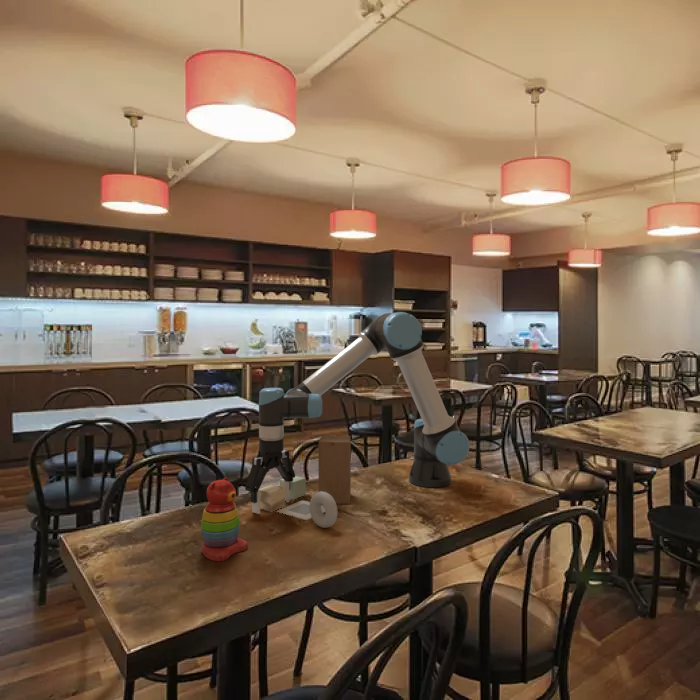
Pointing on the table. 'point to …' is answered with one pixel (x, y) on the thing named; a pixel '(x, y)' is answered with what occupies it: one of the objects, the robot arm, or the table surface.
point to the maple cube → (272, 498)
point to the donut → (329, 506)
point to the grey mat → (299, 510)
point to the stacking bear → (221, 522)
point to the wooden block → (335, 467)
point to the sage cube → (296, 487)
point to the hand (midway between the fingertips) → (271, 506)
